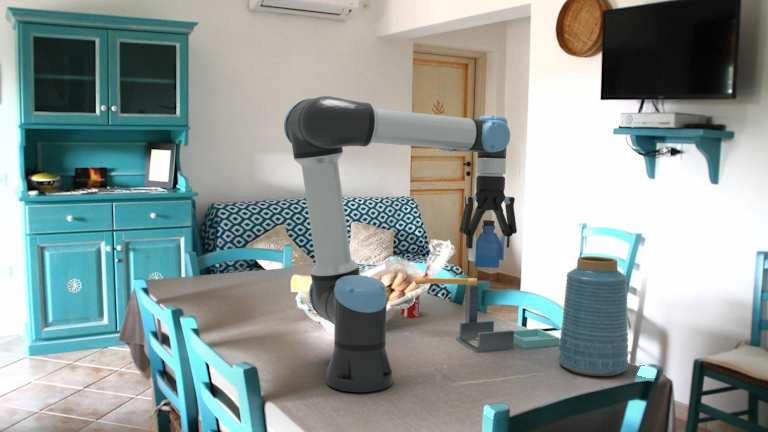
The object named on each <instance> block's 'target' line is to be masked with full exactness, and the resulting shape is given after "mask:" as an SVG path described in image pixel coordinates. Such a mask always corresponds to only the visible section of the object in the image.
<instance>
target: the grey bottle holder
mask: <svg viewBox="0 0 768 432" xmlns="http://www.w3.org/2000/svg"><path fill="white" fill-rule="evenodd" d="M478 299H479V285H478V284H477V285H468V284H465V307H464V308H465V312H464V313H465V314H464V317H465V318H464V322H459V330H458V331H459V335H458V336H457V337H455V341H456V342H458V343H459V344H461V345H462V346H464V347H465V348H467V349H470V350H471V351H473V352H474V353H484V352H493V351H494V352H495V351H503V350H504V351H505V350H506V351H507V350H513V349H514V344H513V343H514V331H513V329H511V330H510V329H509V330H498V331H494V329H495V328H494V327H495V326H494V325H495V324H494V323H495V322H494V320H482V321H478V309H479V307H478V306H479V303H478V301H479V300H478ZM476 338H478V339H476ZM469 339H475V340H477V346H475V345H473V344H472V343H470V342H468V341H470V340H469Z"/></svg>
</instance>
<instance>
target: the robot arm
mask: <svg viewBox="0 0 768 432" xmlns="http://www.w3.org/2000/svg"><path fill="white" fill-rule="evenodd" d="M283 131H284V134H285V136H286V138H287V140H288V142H289V143H290V144H291V147H292V155H293V160H294V161H295V162H296V163H298V164H299V165H300V166H301V170H302V177H303V185H304V186H303V187H304V191H305V198H306V199H305V200H306V207H307V211H308V220H309V226H310V232H311V233H310V234H311V239H312V248H313V253H314V260H315V265H314V266H313V267H312V269H311V270H310V277H311V283H310V285H309V289H308V290H309V291H308V298H309V304H310V303H311V305H312V307H313V309H314V310H315V311H316V312H317V314H318V315H319V317H320V318H322V319H324V320H326V321H327V322H329V323H331V324H333V325H334V335H333V337H334V338H333V339H334V344H333V345H334V346H333V347H334V349H333V350H332V353H331V357H330V360H329V362H328V365H327V369H326V372H325V378H326V379H325V382H326V384H327V385H328V386H329V387H331V388H333V389H336V390H338V391H339V390H340V391H343V392H348V393H349V392H351V393H367V392H368V393H370V392H377V391H381V390H384V389H387V388H389V387H390V386H392V384H393V382H394V381H393V380H394V373H393V369H392V366H391V363H390V359H389V355H388V353H387V350H386V349H387V348H386V346H387V344H386V343H387V341H386V340H387V339H386V337H387V304H388V295H387V288H386V285H385V283H384V282H383V281H381V280H380V279H378V278H376V277H373V276H368V275H362V274H361V275H360V269H359V268H360V267H359V264H358V262H356V261H354V260H353V259H352V256H351V250H350V249H351V248H350V241H349V233H348V227H347V218H346V213H345V206H344V199H343V191H342V185H341V184H342V183H341V177H340V169H339V159H340V158H341V157H342V156H343V154H344V150H343V148H346V147H365V148H366V147H369V146H370V145H371V144H373V143H374V144H385V145H396V146H411V147H425V148H437V149H440V150H441V151H445V152H451V153H452V152H461V153H462V152H464V153H465V152H466V153H467V152H468V153H473V152H474V153H477V155H476V156H477V157H476V160H477V161H476V173H477V174H478V175H477V176H476V181H475V183H476V184H475V186H476V187H475V190H476V191H475V194H474V195H471V196H468V195H466V196H465V197H464V203H465V204H464V209H463V213H462V219H461V223H460V227H459V233H460V234H463V235H465V237H466V239H465V247H466V249H468V252H467V253H468V254H467V256H468V258H467V260H468V261H471V262H475V257H476V241H477V236H476V235H475V234H476V232H477V229H478V227H479V224H480V222H481V220H482V218H483V216H484V214H485V213H486V211H488V212H489V211H493V213H494V214H495V217H496V219H497V222H498V225H499V228H500V230H501V233H502V235H501V234H500V235H499V240H500V256H499V261H500V260H501V261H503V262H505V261H507V250H508V249H507V248H509V247H510V241H511V240H510V237H513V234H516V233H517V231H518V229H517V222H516V215H515V214H516V213H515V200H516V199H515V197H514V196H506V195H505V190H506V177H505V176H504V175H505V174H506V170H507V169H506V167H507V148H508V145H509V143H510V141H511V131H510V128H509V126H508V119H507V118H506V117H505V116H501V115H481V116H480V117H479V119H477V118H469V117H460V116H448V115H443V114H442V115H440V114H431V113H421V112H414V111H413V112H411V111H402V110H401V111H400V110H391V109H384V108H375V106H374V105H373V104H372V103H370V102H362V101H356V100H355V101H354V100H350V99H344V98H340V97H335V96H330V95H329V96H328V95H327V96H326V95H323V96H319V97H312V98H306V99H302V100H300V101H298V102H297V103H295V104H293V105H292V106H291V107H290V108H289V110H288V111H287V113H286V115H285V118H284V122H283ZM476 203H477V205H476V208H475V211H474V213H473V210H474V205H475V204H476ZM503 203H504V204H505V205H504V206H505V214H504V208H503V206H502V204H503ZM472 214H473V216H472ZM505 215H506V216H505ZM317 314H316V315H317Z"/></svg>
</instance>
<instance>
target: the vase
mask: <svg viewBox="0 0 768 432" xmlns="http://www.w3.org/2000/svg"><path fill="white" fill-rule="evenodd" d="M576 264H577V265H576V267H575V268H573V269H572V270H570V271H568V272H567V273H566V283H565V291H564V292H565V294H564V300H563V302H564V304H563V312H562V320H561V321H562V322H561V327H560V329H561V332H560V337H559V338H560V343H559V346H558V347H559V348H558V350H559V353H558V356H557V357H558V359H557V360H558V363H559V364H560V365H561V366H562V367H564V369H565V370H568V371H570V372H572V373H576V374H580V375H584V376H592V377H613V376H614V377H615V376H616V375H617V376H618V375H620V374H622V373H624V372H626V371H627V370H628V369H629V360H628V357H629V351H628V350H629V344H628V342H629V337H628V335H629V332H628V277H627V275H625V274H623V273H622V272H621V271H620V270H618V260H617V259H616V258H613V257H607V256H592V255H591V256H589V255H588V256H587V255H586V256H579V257H578V258H577V263H576Z"/></svg>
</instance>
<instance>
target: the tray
mask: <svg viewBox="0 0 768 432" xmlns="http://www.w3.org/2000/svg"><path fill="white" fill-rule="evenodd" d="M512 330H513V329H512ZM513 331H514V344H515V345H517V346H518V347H520V348H522V349H523V350H530V349H532V350H533V349H542V347H543V348H550V346H552V347H559V346H560V338H561V337H558V336H557V335H554V334H551V333H550V332H547V331H545V330H543V329H541V328H527V329H526V328H525V329H515V330H513ZM514 344H513V345H514ZM558 345H559V346H558Z"/></svg>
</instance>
